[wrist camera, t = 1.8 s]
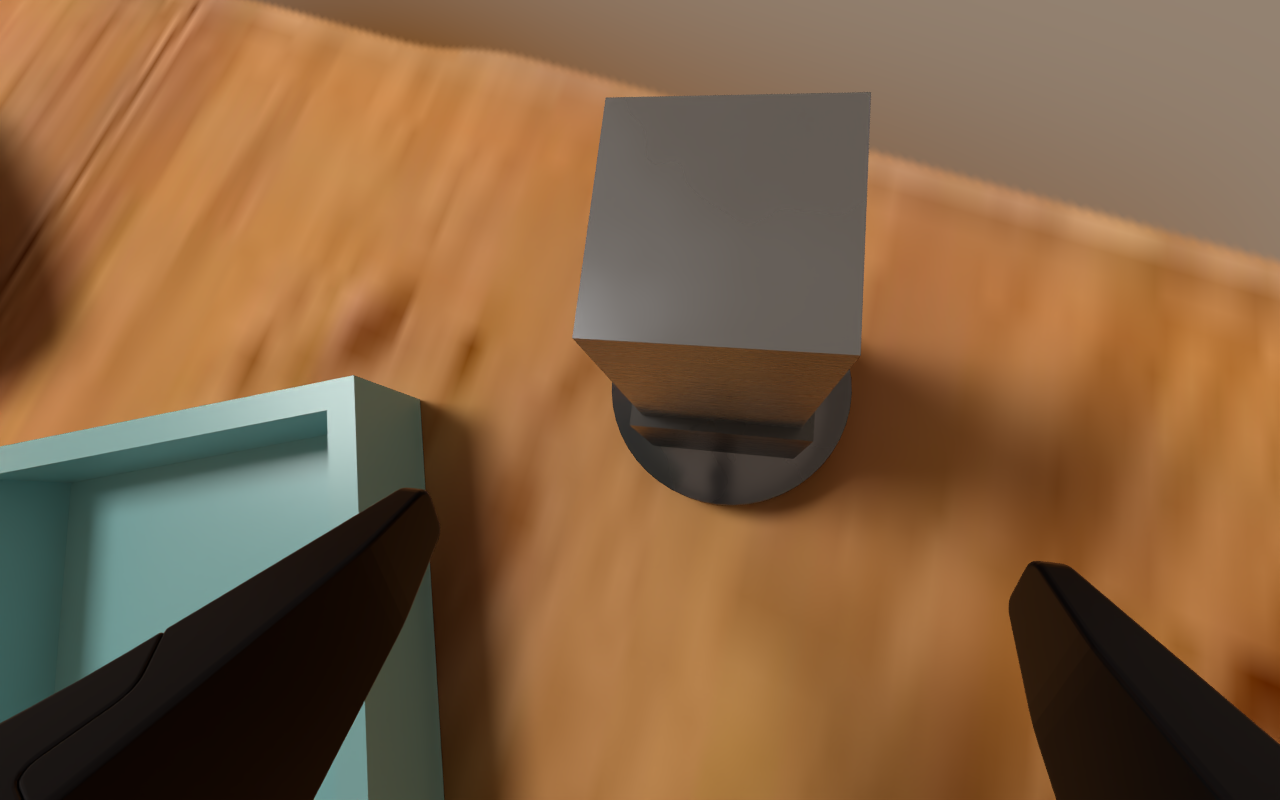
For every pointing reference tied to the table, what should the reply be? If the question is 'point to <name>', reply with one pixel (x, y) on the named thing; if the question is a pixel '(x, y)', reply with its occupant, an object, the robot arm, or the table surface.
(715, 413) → the strut
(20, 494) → the bin
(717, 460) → the stud plate
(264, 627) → the robot arm
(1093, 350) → the table surface
